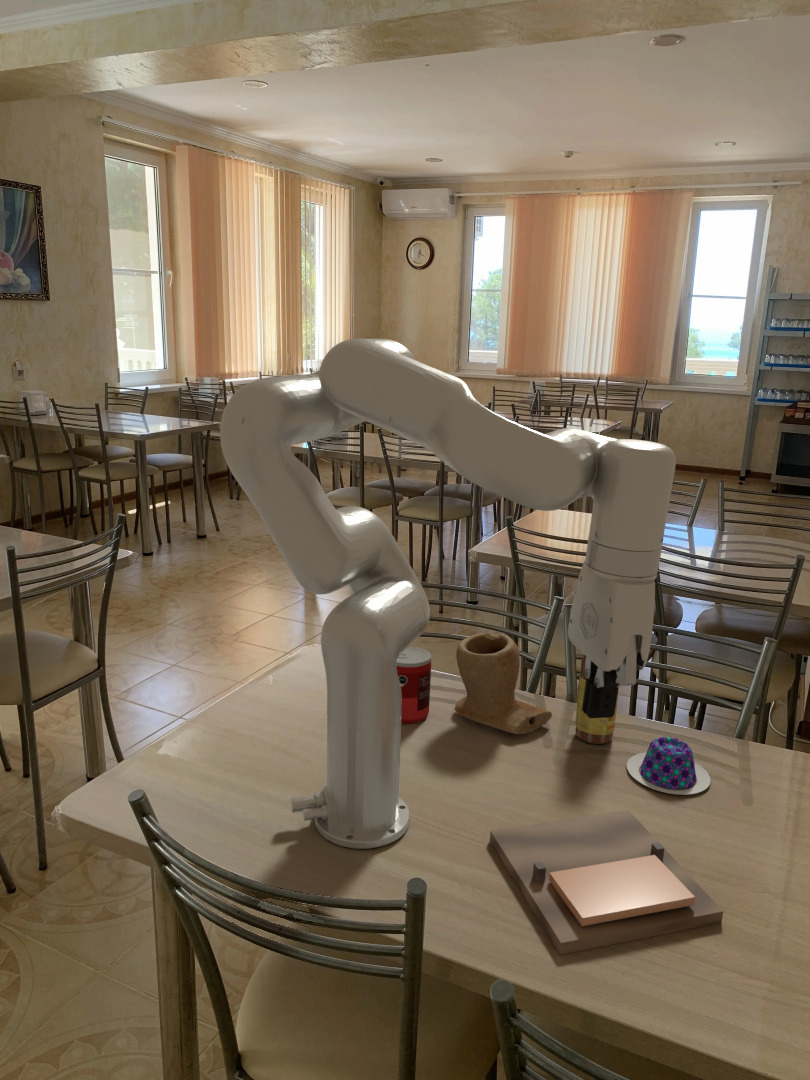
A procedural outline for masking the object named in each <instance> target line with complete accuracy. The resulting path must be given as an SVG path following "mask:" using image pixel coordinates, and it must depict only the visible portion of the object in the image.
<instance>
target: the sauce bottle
mask: <svg viewBox="0 0 810 1080" xmlns="http://www.w3.org/2000/svg"><path fill="white" fill-rule="evenodd" d="M585 663H586V657H585V655H584V654H583V656H582V658H581V664H580V673H579V676H578V677H579V680H578V689H577V690H578V691H577V700H576V701H577V702H576V714H575V715H576V716H575V722H574V723H575V734H576V737H578V738H579V739H580V740H581V741H583V742H586V743H588V744H595V745H603V744H607V743H609V742H610V741H611V740H612V739H613V735H614V731H615V728H616V727H615V726H616V718H617V708H618V699H619V698H618V697H619V694H618V695H617V701H616V707H615V713H614V716H613V717H607V718H589V717H588V716H587V715H586V714H585V713H584V712H583V711H582V705H583V698H584V691H585V685H586V679H590V678H587V677H586V676H585ZM619 689H620V687H619V688H618V690H619Z"/></svg>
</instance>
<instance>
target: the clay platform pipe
mask: <svg viewBox="0 0 810 1080" xmlns="http://www.w3.org/2000/svg"><path fill="white" fill-rule="evenodd" d="M455 657H456V662H457V663H456V664H457V668H458V671H459V676H460V678H461V680H462V682H463V683H462V684H464V685H463V686H464V689H465V692H466V695H465V696H464V697H462V698H461V699H459V700H458V701H456V704H455V706H454V711H455V712H456V714H458V715H459V716H461V717H463V718H465V719H468V720H470V721H473V722H476V723H478V724H480V725H481V724H482V725H484V726H487V727H491V728H494V729H497V730H500V731H503V732H506V733H510V734H512V735H513V734H514V735H526V734H531V733H532V732H534V731H536V730H538V729H540V728H541V727H543V726H545V725H546V724H547V723H548V721H550V720H551V718H552V716H553V714H552V711H550V710H546V709H544V708H541V707H538V706H535V705H532V704H529V703H527V702H524V701H521V700H517V699H516V698H515V691H516V686H517V682H518V678H519V673H520V665H521V663H520V662H521V660H520V651H519V647H518V645H517V643H516V642H515V641H514V639H513V638H511V637H510V636H508V635H506V634H501V633H499V634H494V633H489V632H481V633H475V634H473V635H469V636H468V637H466V638H464V639H462V640H461V641H460V642H459V644H458V645H457V648H456V655H455Z"/></svg>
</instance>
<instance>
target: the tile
mask: <svg viewBox="0 0 810 1080" xmlns="http://www.w3.org/2000/svg"><path fill="white" fill-rule="evenodd" d="M549 881H550V882H551V884H552V885H553V886H554V888H555V889H556V891H557V892H558V893H559V895H560V896H561V898H562V899H563V900H564V902H565V903H566V905H567V906H568V907H569V909H570V910H571V912H572V913H573V914H574V916H575V917H576V919H577V920H578V921H579V923H580V924H581V926H587V925H592V924H597V923H602V922H608V921H613V920H618V919H623V918H629V917H634V916H639V915H644V914H649V913H655V912H660V911H665V910H670V909H676V908H681V907H686V906H691V905H694V903H695V896H694V895H693V894H692V893H691V892H690V891H689V890H688V889H687V888H686V887H685V886H684V885H683V884H682V883H681V882H680V881H679V880H678V879H677V878H676V876H675V875H674V874H673V873H672V872H671V871H670V870H669V869H668V868H667V867H666V866H665V865H664V864H663V863H662V862H661V861H660V860H659V859H658V858H657V857H656V856H655V855H651V856H645V857H639V858H633V859H627V860H621V861H615V862H609V863H603V864H598V865H592V866H586V867H580V868H574V869H568V870H562V871H556V872H550V873H549Z"/></svg>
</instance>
